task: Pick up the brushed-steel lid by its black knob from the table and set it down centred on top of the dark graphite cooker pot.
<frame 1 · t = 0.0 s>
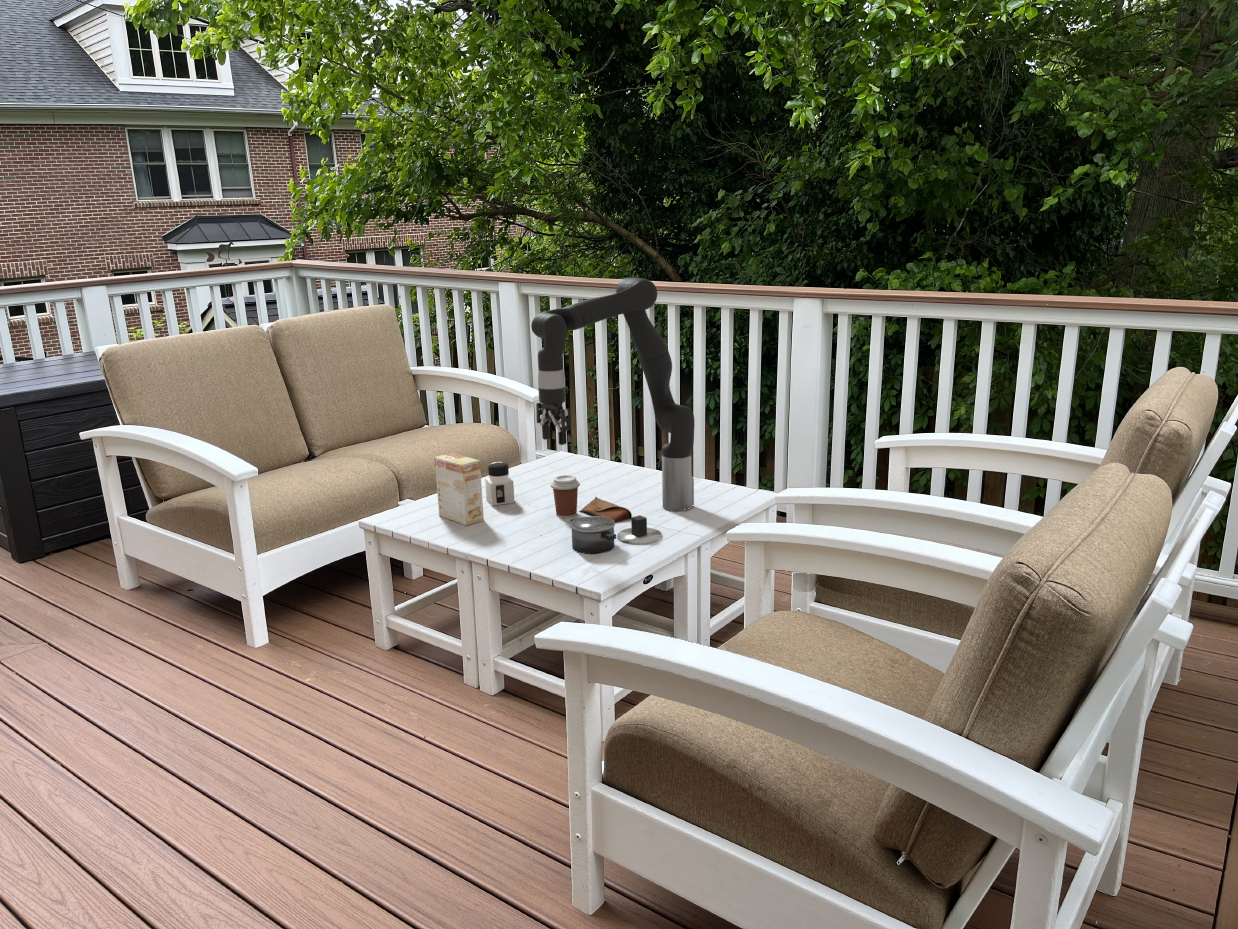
hand: (554, 441, 269), 29 cm above the table, fingers open, 8 cm apart
coffee cup: (566, 515, 298), on the table
sunglasses case: (604, 517, 297), on the table
lid: (639, 537, 277), on the table
coffeecake box: (461, 518, 297), on the table
container: (500, 501, 313), on the table
pot: (593, 546, 270), on the table
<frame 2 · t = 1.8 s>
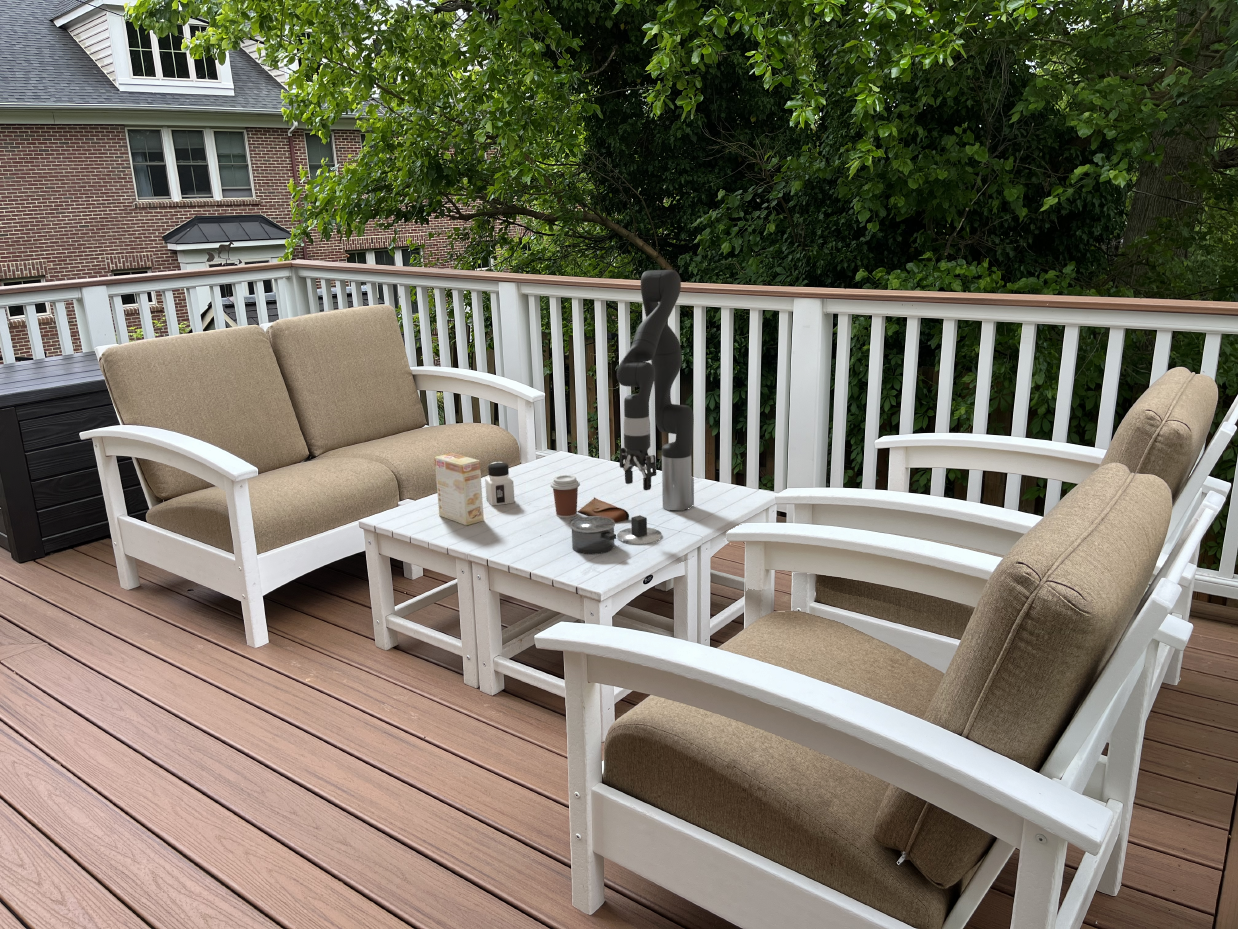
hand: (637, 486, 272), 15 cm above the table, fingers open, 8 cm apart
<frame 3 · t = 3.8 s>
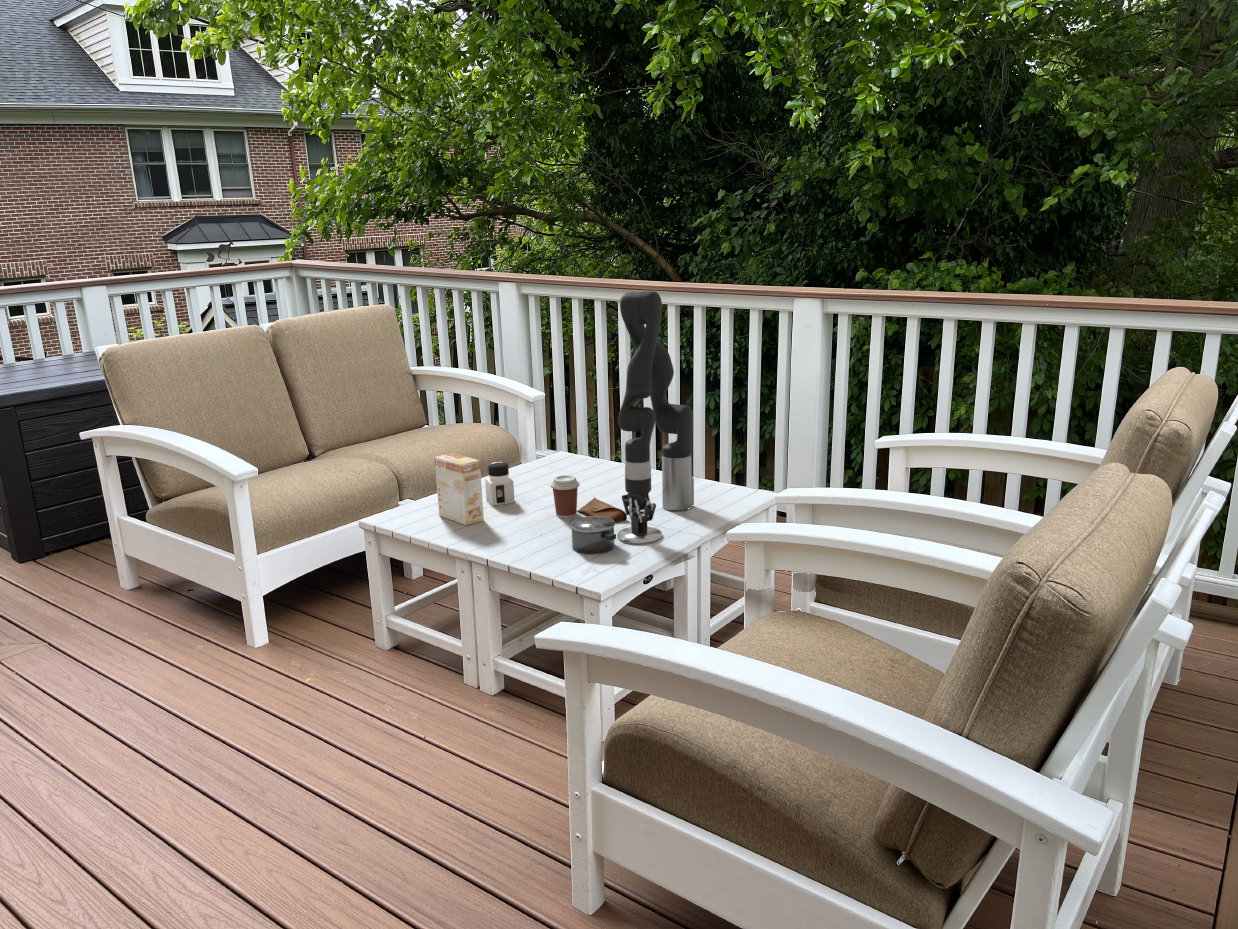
hand: (639, 531, 276), 2 cm above the table, fingers closed on lid, 3 cm apart
lid: (639, 536, 276), on the table, touching gripper
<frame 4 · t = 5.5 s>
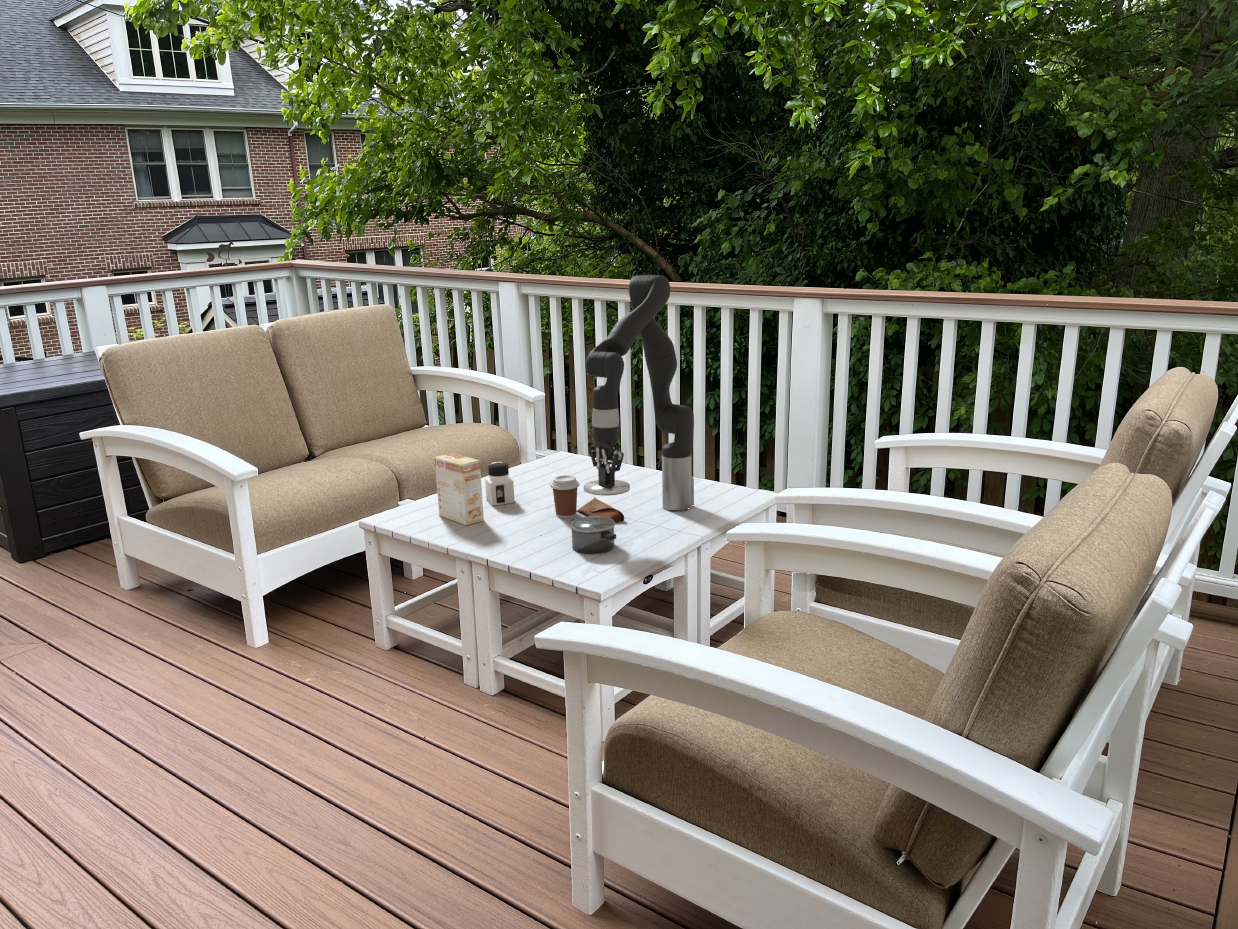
hand: (606, 483, 266), 18 cm above the table, fingers closed on lid, 3 cm apart
lid: (606, 489, 267), point 17 cm above the table, touching gripper
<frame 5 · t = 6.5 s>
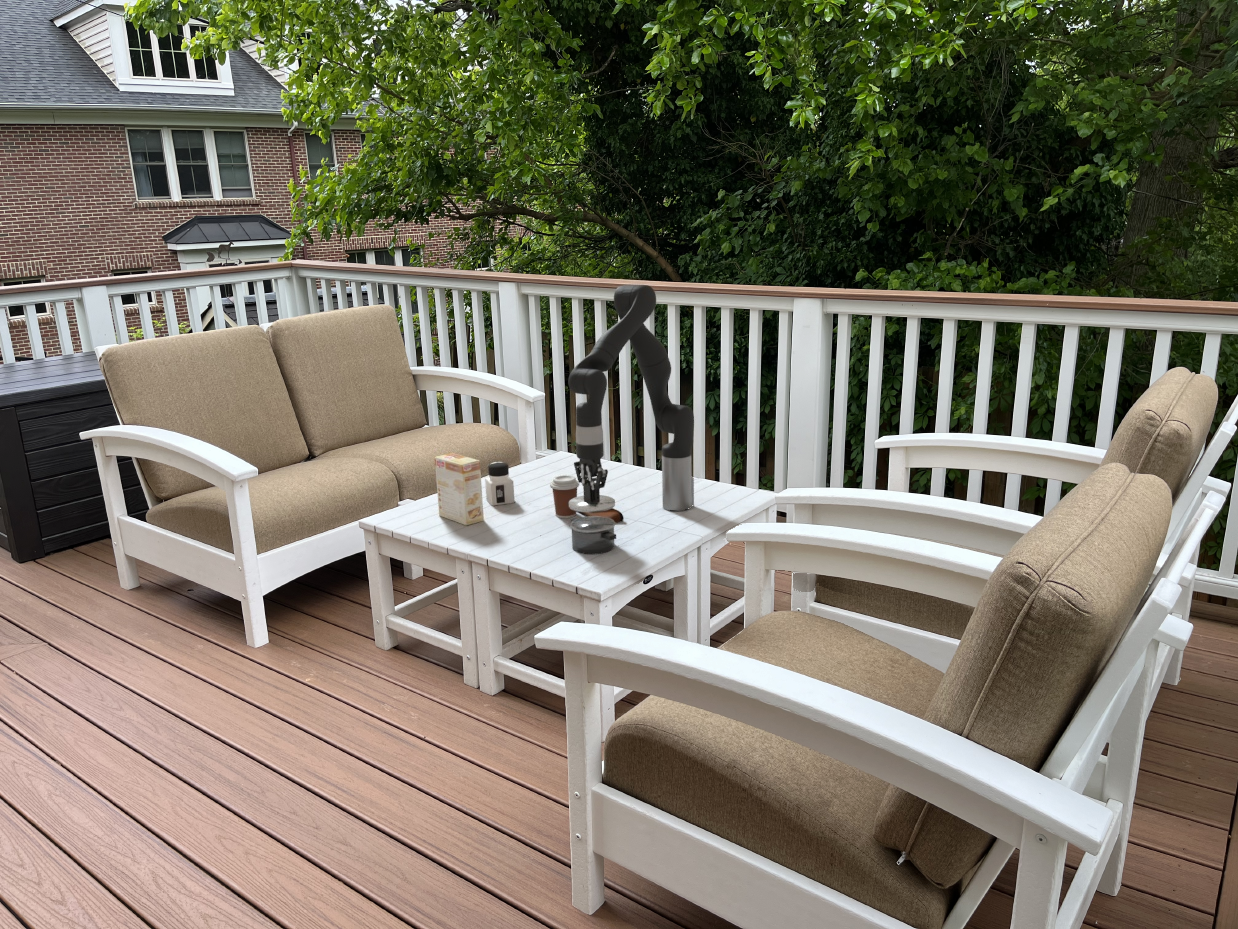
hand: (591, 499, 266), 14 cm above the table, fingers closed on lid, 3 cm apart
lid: (591, 505, 266), point 12 cm above the table, touching gripper
when the fingers open (10 cm above the table, at t = 7.5 s): lid stays where it is, resting on pot.
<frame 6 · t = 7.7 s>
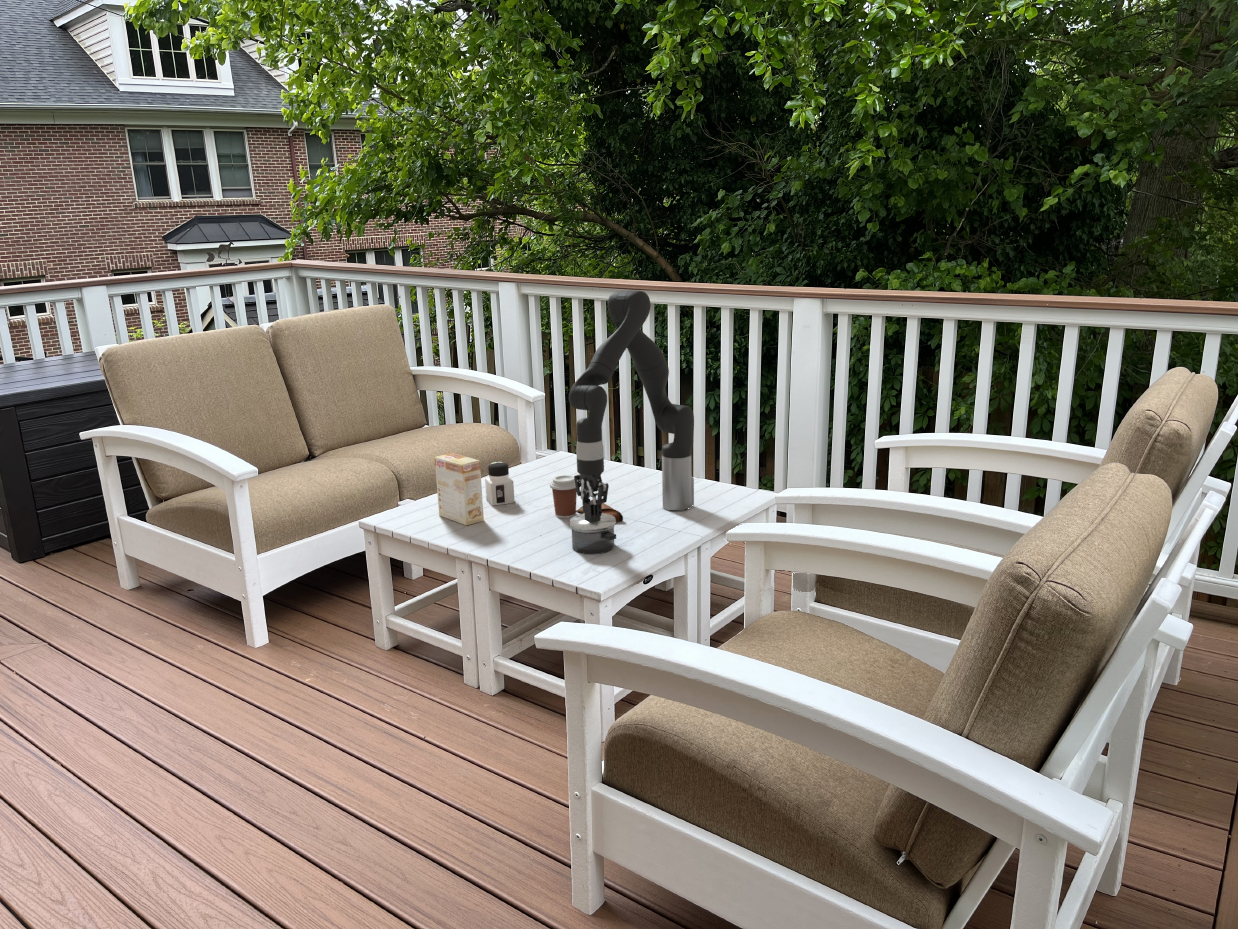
hand: (592, 513, 267), 10 cm above the table, fingers open, 4 cm apart
lid: (592, 523, 268), point 7 cm above the table, touching pot
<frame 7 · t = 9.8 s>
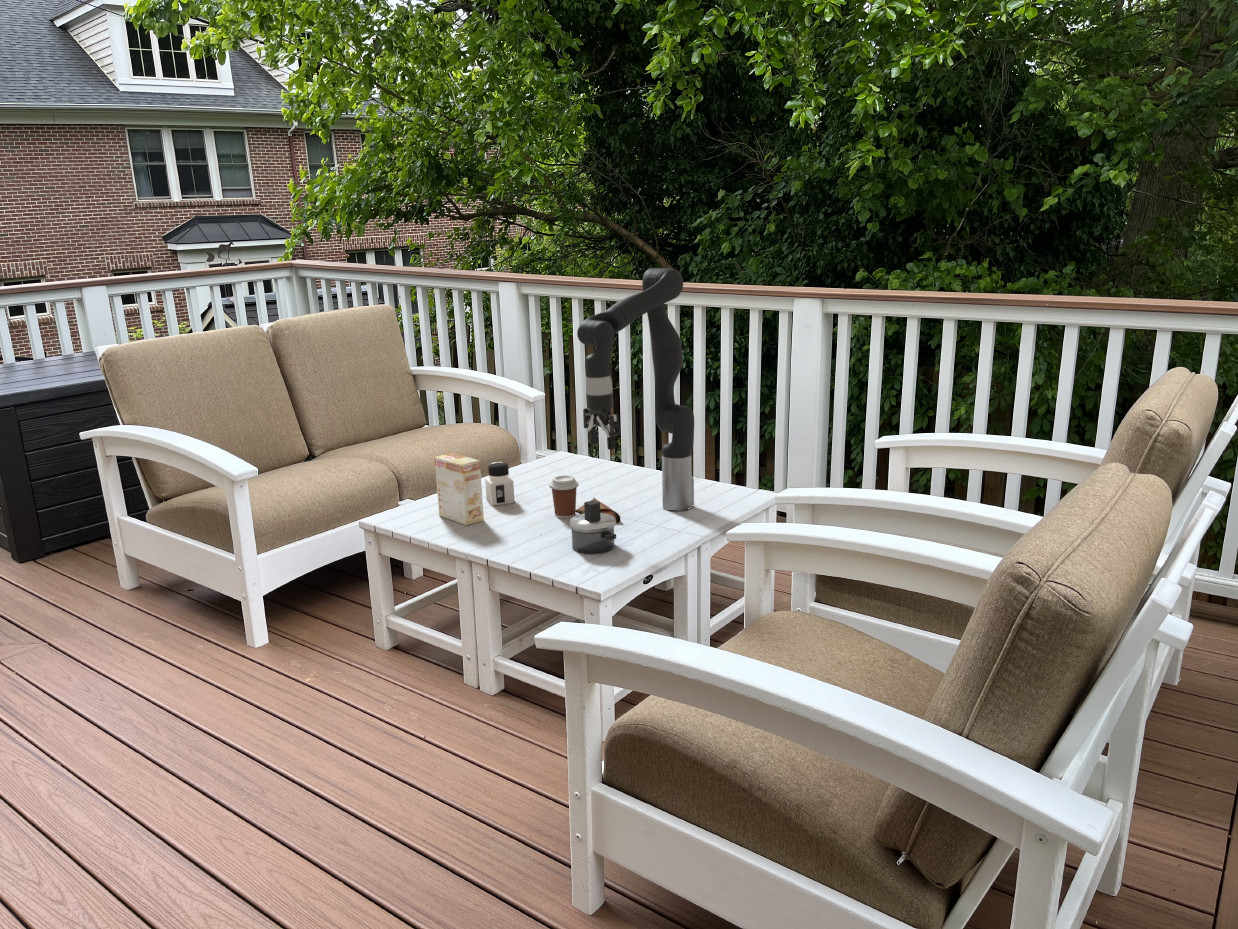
hand: (602, 446, 272), 27 cm above the table, fingers open, 8 cm apart
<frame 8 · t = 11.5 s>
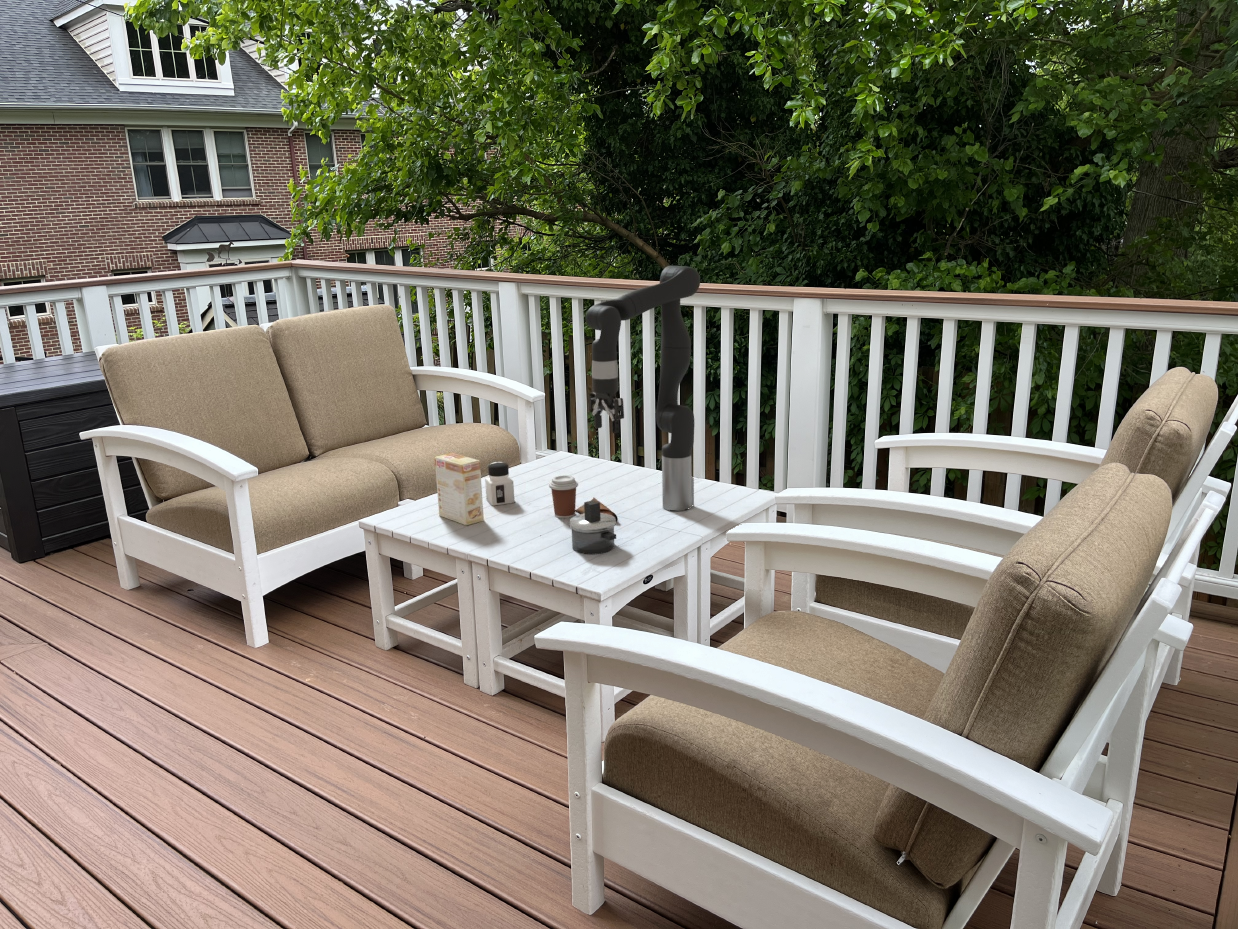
hand: (606, 430, 277), 30 cm above the table, fingers open, 8 cm apart
at the end: lid 0.1 cm off-centre on the pot, point 7.0 cm above the pot's base; lid tilted 0°; the gripper is holding nothing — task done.
